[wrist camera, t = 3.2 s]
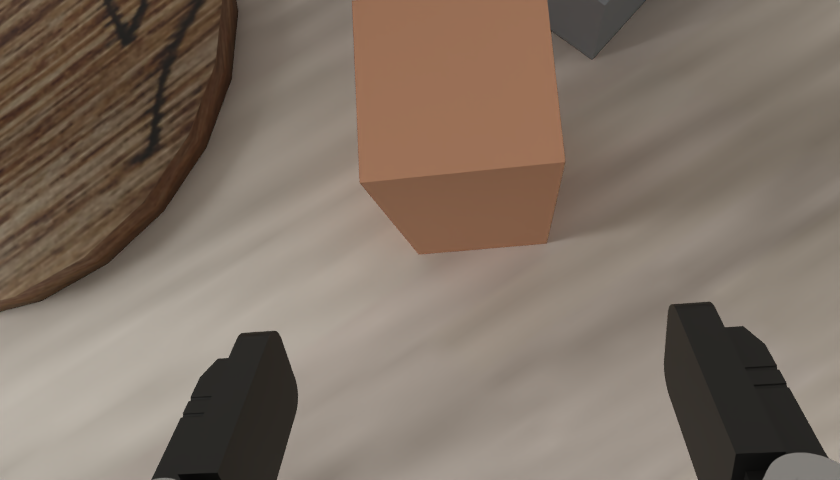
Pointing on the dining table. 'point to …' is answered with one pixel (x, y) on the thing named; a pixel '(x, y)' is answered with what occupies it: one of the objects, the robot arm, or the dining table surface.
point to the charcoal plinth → (589, 21)
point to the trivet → (99, 126)
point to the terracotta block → (459, 120)
